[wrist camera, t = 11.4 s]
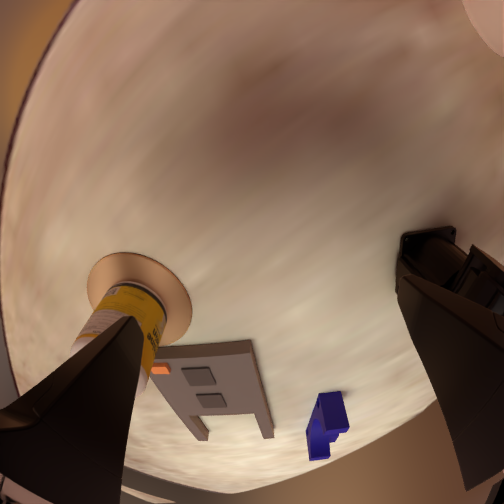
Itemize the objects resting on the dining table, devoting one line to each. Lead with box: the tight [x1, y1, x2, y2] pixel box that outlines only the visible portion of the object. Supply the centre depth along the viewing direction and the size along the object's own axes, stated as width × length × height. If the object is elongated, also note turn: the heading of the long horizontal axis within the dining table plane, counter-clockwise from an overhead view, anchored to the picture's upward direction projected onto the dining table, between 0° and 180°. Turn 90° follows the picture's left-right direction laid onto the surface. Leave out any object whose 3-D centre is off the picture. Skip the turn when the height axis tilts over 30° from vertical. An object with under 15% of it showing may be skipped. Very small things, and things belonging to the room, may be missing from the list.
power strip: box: [150, 340, 274, 441], centre depth 31 cm, size 12×21×2 cm, turn 10°
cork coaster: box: [87, 253, 192, 346], centre depth 24 cm, size 11×11×1 cm
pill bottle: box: [70, 281, 167, 398], centre depth 19 cm, size 6×6×12 cm
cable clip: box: [306, 391, 350, 461], centre depth 32 cm, size 12×4×6 cm, turn 0°
